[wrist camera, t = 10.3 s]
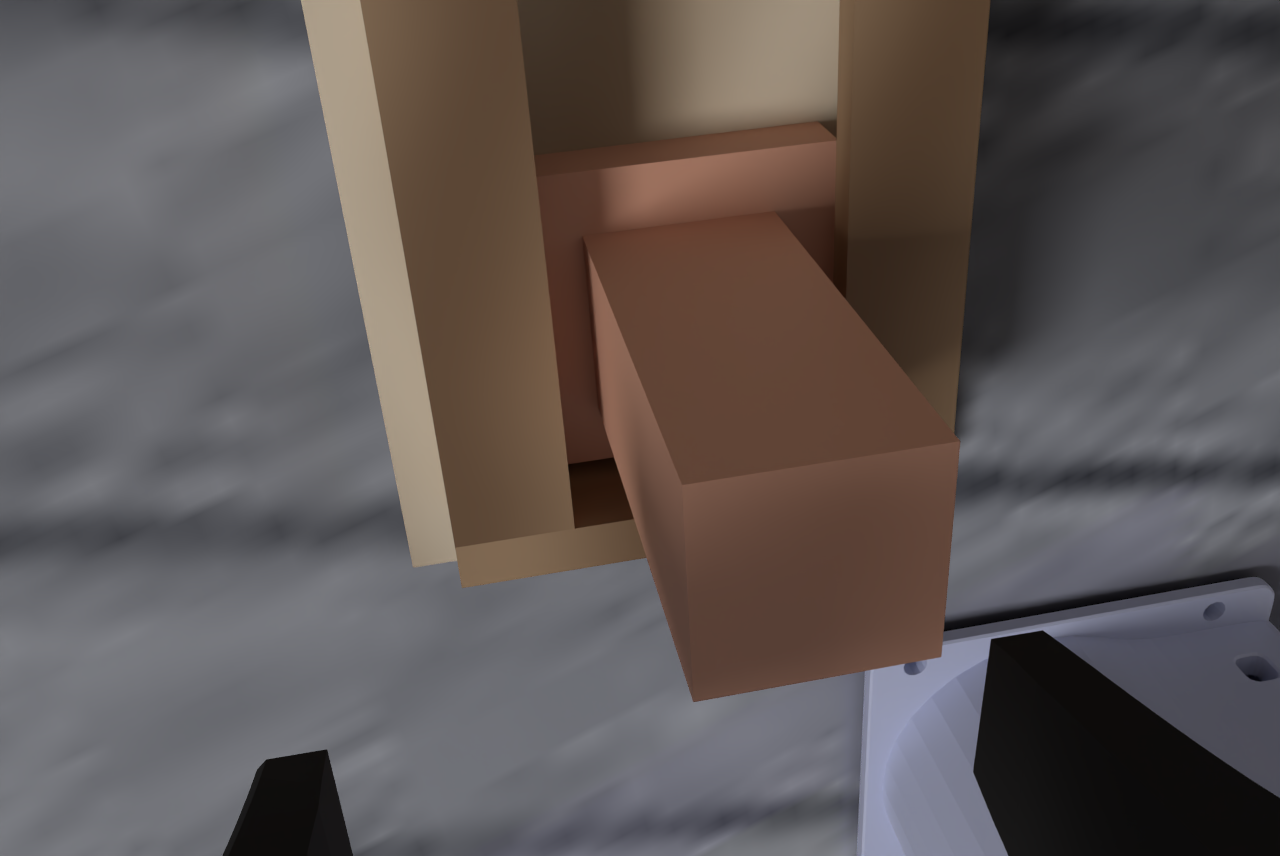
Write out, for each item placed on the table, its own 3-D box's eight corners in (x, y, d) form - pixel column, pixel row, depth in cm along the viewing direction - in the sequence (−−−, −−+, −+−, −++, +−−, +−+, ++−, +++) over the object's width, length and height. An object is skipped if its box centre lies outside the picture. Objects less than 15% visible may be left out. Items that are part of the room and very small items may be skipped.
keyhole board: (1008, -902, 14) (1169, -1056, 11) (917, 455, 24) (991, 556, 21) (132, -896, 13) (64, -1068, 10) (411, 536, 23) (417, 654, 20)
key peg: (817, 121, 19) (1060, 343, 12) (814, 396, 22) (1012, 704, 15) (502, 159, 19) (576, 415, 12) (537, 437, 21) (613, 779, 14)
